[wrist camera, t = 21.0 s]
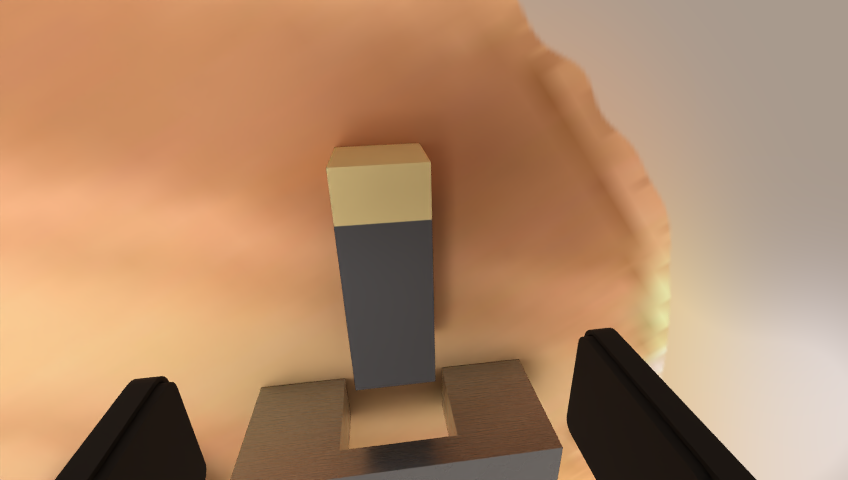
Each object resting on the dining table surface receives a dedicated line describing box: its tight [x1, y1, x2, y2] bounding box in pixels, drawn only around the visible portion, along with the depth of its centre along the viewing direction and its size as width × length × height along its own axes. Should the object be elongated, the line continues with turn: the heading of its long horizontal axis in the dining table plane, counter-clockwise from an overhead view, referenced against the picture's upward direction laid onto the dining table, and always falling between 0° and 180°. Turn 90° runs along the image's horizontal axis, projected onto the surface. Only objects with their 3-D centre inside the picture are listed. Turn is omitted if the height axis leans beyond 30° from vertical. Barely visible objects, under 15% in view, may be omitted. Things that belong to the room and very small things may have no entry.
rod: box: [326, 143, 435, 390], centre depth 24 cm, size 14×5×5 cm, turn 2°
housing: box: [230, 359, 563, 480], centre depth 28 cm, size 4×20×8 cm, turn 92°
